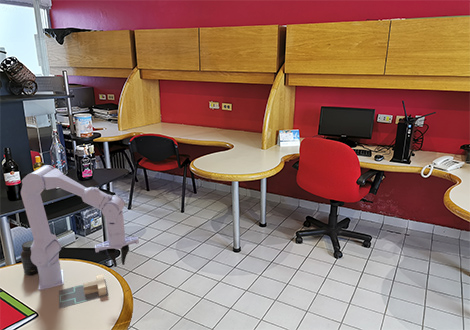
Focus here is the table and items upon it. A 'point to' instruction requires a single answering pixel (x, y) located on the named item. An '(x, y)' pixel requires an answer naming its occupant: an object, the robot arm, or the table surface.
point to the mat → (76, 296)
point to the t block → (95, 286)
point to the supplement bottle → (28, 259)
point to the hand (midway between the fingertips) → (119, 264)
